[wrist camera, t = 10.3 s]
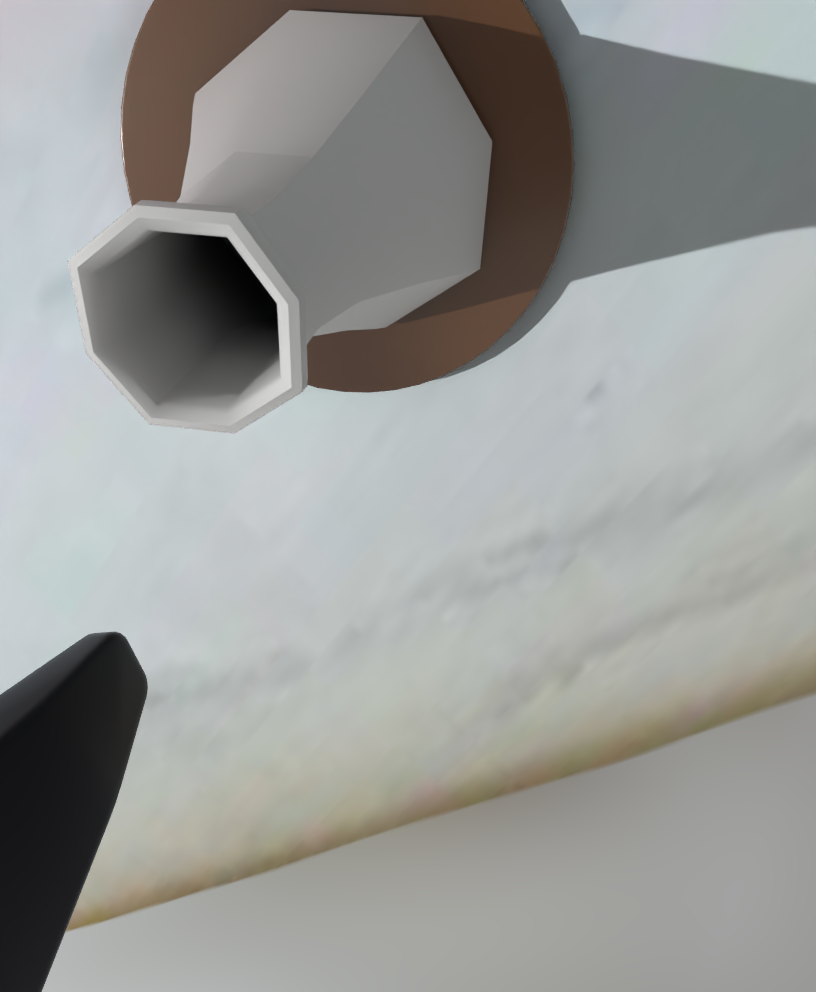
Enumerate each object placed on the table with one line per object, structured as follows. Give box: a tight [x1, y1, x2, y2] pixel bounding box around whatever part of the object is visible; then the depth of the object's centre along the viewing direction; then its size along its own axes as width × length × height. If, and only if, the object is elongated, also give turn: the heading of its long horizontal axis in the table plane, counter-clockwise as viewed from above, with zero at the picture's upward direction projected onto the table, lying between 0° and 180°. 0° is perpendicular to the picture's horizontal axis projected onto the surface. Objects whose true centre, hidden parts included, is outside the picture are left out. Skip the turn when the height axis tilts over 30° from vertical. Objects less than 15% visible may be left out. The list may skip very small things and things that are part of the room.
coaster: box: [121, 0, 574, 392], centre depth 19 cm, size 11×11×1 cm
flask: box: [68, 10, 492, 434], centre depth 14 cm, size 7×7×10 cm
